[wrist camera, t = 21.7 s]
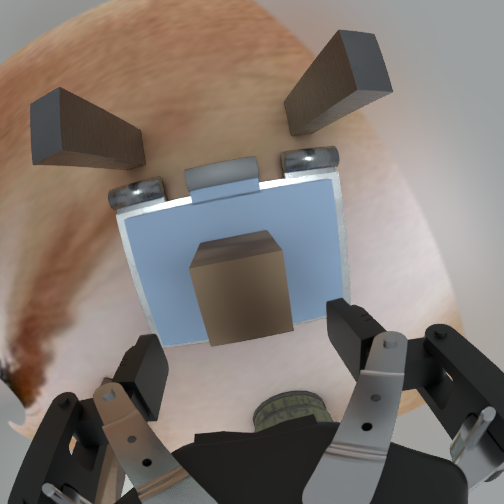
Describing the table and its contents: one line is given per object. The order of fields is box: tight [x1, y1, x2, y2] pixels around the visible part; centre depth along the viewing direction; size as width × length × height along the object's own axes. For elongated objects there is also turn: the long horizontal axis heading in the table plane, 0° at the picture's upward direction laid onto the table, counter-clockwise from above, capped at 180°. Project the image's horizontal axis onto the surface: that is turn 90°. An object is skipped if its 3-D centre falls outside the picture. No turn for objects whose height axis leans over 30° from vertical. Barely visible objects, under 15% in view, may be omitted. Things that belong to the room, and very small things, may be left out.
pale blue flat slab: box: [124, 156, 343, 346], centre depth 20 cm, size 16×14×2 cm
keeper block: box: [189, 230, 294, 346], centre depth 18 cm, size 5×5×6 cm
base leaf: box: [30, 30, 393, 348], centre depth 16 cm, size 18×19×12 cm
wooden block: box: [94, 378, 126, 504], centre depth 17 cm, size 4×11×18 cm, turn 166°
